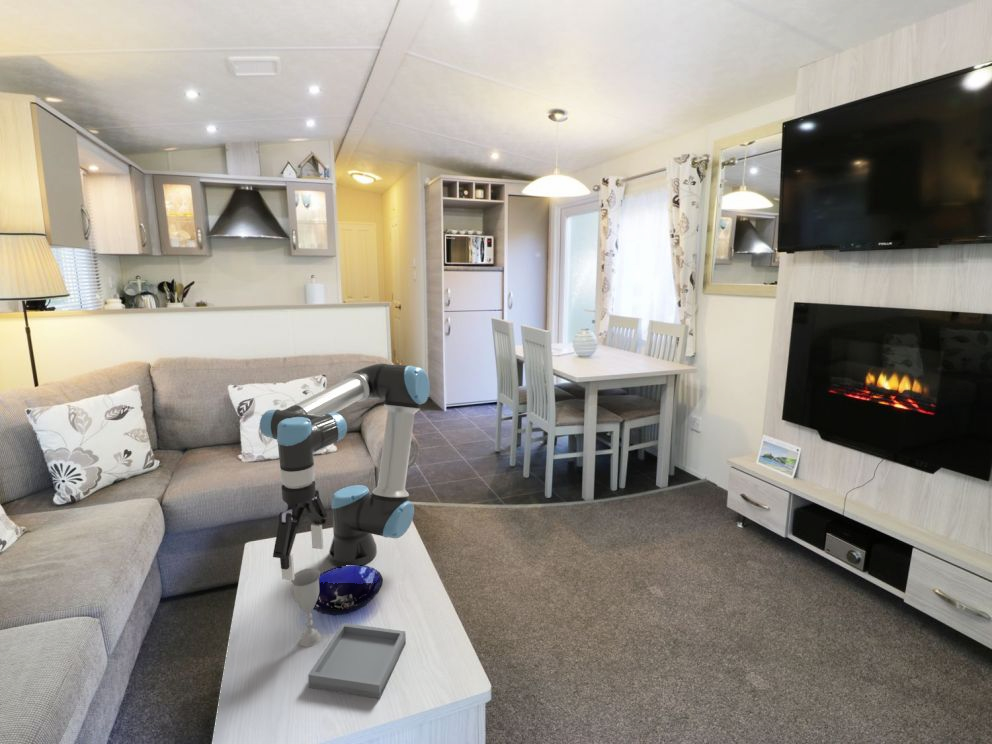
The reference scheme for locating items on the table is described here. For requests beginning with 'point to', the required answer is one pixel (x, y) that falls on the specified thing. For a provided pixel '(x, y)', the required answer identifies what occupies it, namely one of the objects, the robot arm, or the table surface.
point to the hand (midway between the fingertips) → (304, 562)
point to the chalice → (307, 601)
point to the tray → (358, 660)
